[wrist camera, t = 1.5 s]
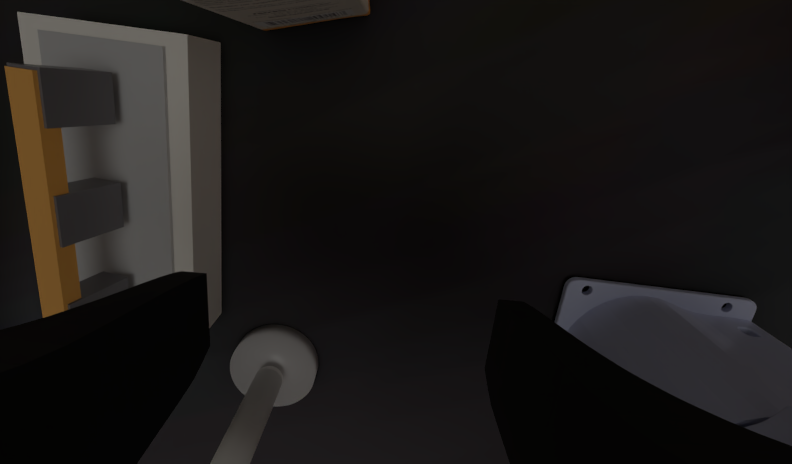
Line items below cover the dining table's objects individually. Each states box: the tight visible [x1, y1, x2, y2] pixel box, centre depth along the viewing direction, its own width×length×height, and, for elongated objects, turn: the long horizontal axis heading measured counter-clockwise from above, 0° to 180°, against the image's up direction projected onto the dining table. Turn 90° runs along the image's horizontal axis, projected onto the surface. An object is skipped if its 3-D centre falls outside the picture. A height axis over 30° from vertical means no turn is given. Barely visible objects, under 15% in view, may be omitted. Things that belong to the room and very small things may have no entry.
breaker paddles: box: [5, 63, 129, 318], centre depth 16 cm, size 1×10×3 cm, turn 173°
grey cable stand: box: [210, 324, 318, 464], centre depth 18 cm, size 4×4×11 cm
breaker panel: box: [17, 12, 222, 328], centre depth 19 cm, size 6×13×3 cm, turn 173°
